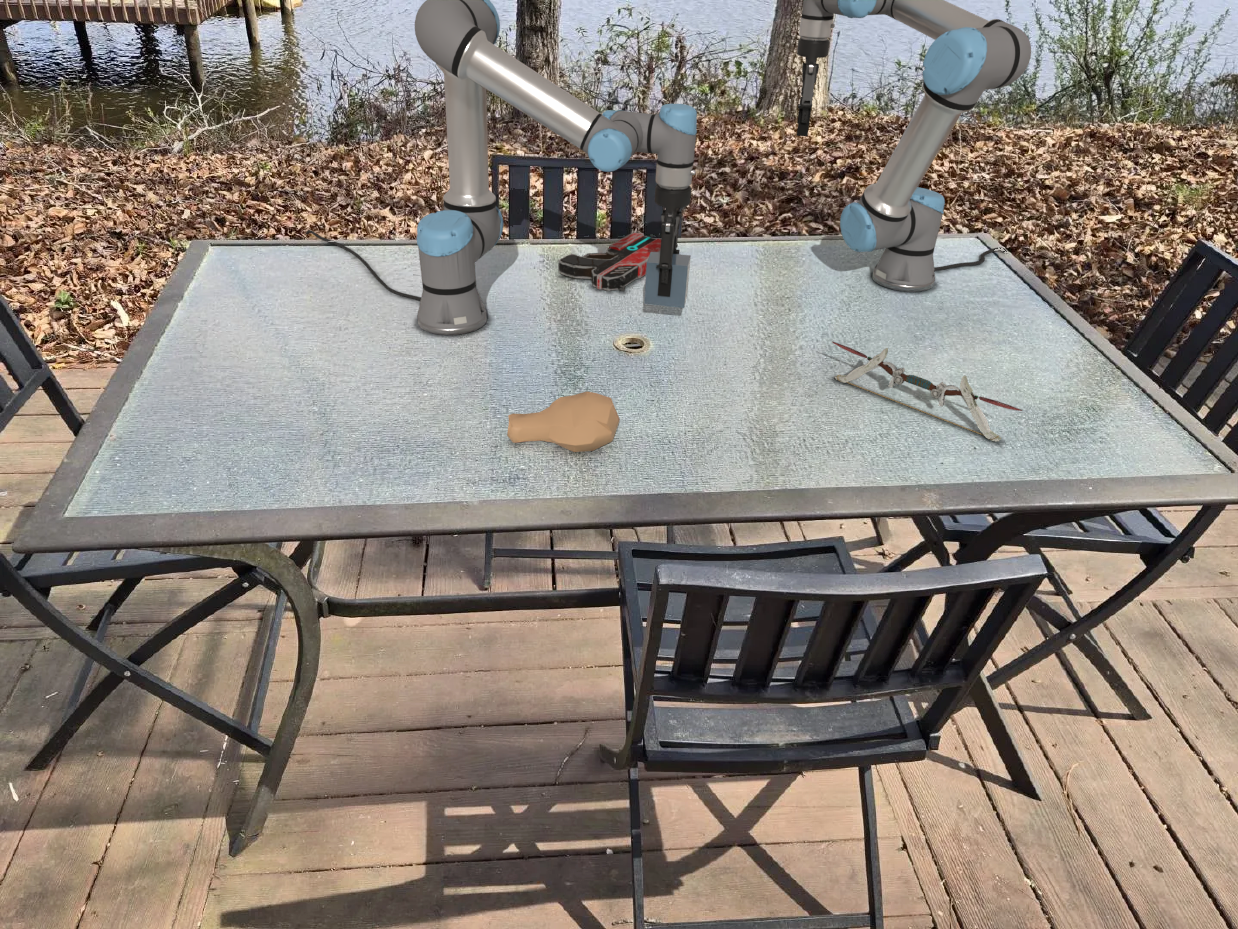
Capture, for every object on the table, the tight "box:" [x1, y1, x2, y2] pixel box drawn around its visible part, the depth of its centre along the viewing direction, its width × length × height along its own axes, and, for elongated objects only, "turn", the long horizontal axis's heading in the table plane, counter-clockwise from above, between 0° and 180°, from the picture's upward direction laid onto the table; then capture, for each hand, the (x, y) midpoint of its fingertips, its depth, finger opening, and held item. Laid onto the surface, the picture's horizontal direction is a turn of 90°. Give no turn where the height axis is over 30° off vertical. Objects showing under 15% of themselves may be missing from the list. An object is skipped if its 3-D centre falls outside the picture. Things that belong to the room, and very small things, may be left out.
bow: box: [831, 341, 1023, 443], centre depth 166 cm, size 39×2×10 cm, turn 47°
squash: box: [506, 390, 621, 453], centre depth 154 cm, size 11×20×9 cm, turn 90°
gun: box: [557, 232, 661, 292], centre depth 225 cm, size 4×31×19 cm
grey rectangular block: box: [643, 252, 692, 309], centre depth 193 cm, size 7×9×10 cm
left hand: (665, 288), depth 195 cm, fingers closed on grey rectangular block, 7 cm apart
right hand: (802, 129), depth 224 cm, fingers open, 13 cm apart
